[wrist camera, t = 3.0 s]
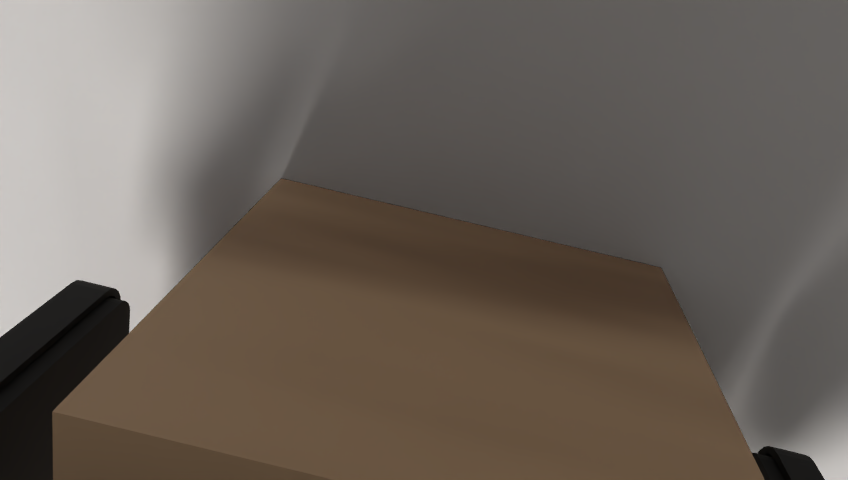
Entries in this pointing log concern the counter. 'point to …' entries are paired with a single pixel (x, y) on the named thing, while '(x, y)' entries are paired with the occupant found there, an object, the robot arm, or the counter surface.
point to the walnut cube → (401, 361)
